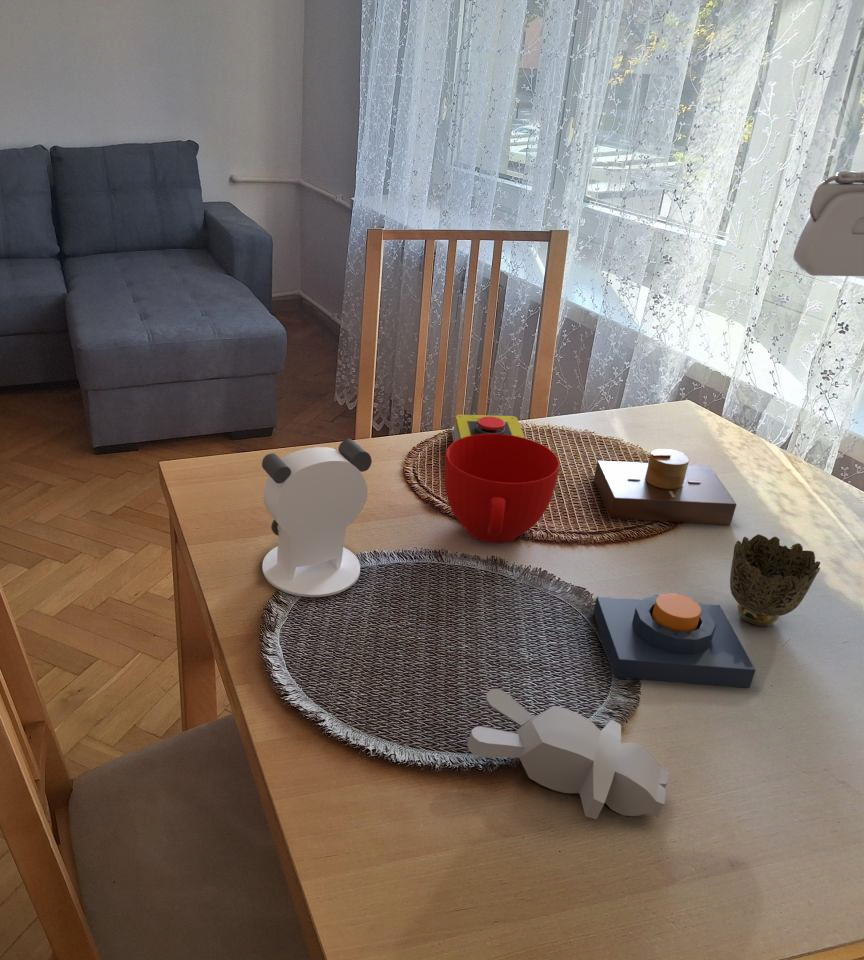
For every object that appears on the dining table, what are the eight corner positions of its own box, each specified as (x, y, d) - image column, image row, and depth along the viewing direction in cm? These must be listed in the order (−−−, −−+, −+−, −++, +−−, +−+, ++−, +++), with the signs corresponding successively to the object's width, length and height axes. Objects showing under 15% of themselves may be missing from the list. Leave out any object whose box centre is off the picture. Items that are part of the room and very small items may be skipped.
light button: (690, 608, 86) (694, 594, 85) (702, 634, 82) (707, 619, 81) (647, 605, 86) (651, 591, 85) (658, 630, 83) (662, 616, 82)
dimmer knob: (674, 472, 111) (681, 446, 109) (689, 489, 107) (696, 462, 105) (639, 472, 111) (645, 446, 109) (652, 489, 107) (659, 462, 105)
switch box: (714, 621, 89) (724, 590, 87) (749, 688, 81) (761, 655, 79) (593, 613, 91) (599, 582, 89) (614, 677, 82) (622, 644, 81)
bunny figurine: (667, 817, 63) (469, 731, 69) (645, 859, 66) (456, 773, 72) (679, 733, 71) (498, 661, 76) (658, 774, 73) (485, 702, 79)
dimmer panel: (704, 485, 114) (710, 464, 112) (730, 525, 105) (737, 502, 104) (593, 480, 116) (597, 459, 114) (610, 518, 107) (614, 496, 106)
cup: (704, 618, 90) (723, 555, 86) (729, 588, 94) (749, 526, 90) (784, 650, 85) (808, 585, 81) (806, 616, 89) (830, 553, 86)
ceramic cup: (430, 567, 99) (438, 493, 94) (442, 496, 113) (449, 428, 109) (549, 584, 96) (563, 507, 91) (546, 509, 110) (558, 438, 105)
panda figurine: (337, 532, 107) (341, 423, 99) (383, 582, 97) (391, 465, 90) (248, 553, 103) (245, 441, 96) (286, 606, 94) (286, 487, 86)
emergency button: (517, 404, 128) (535, 449, 115) (513, 430, 130) (531, 478, 117) (453, 402, 129) (464, 447, 116) (450, 429, 131) (461, 475, 118)
